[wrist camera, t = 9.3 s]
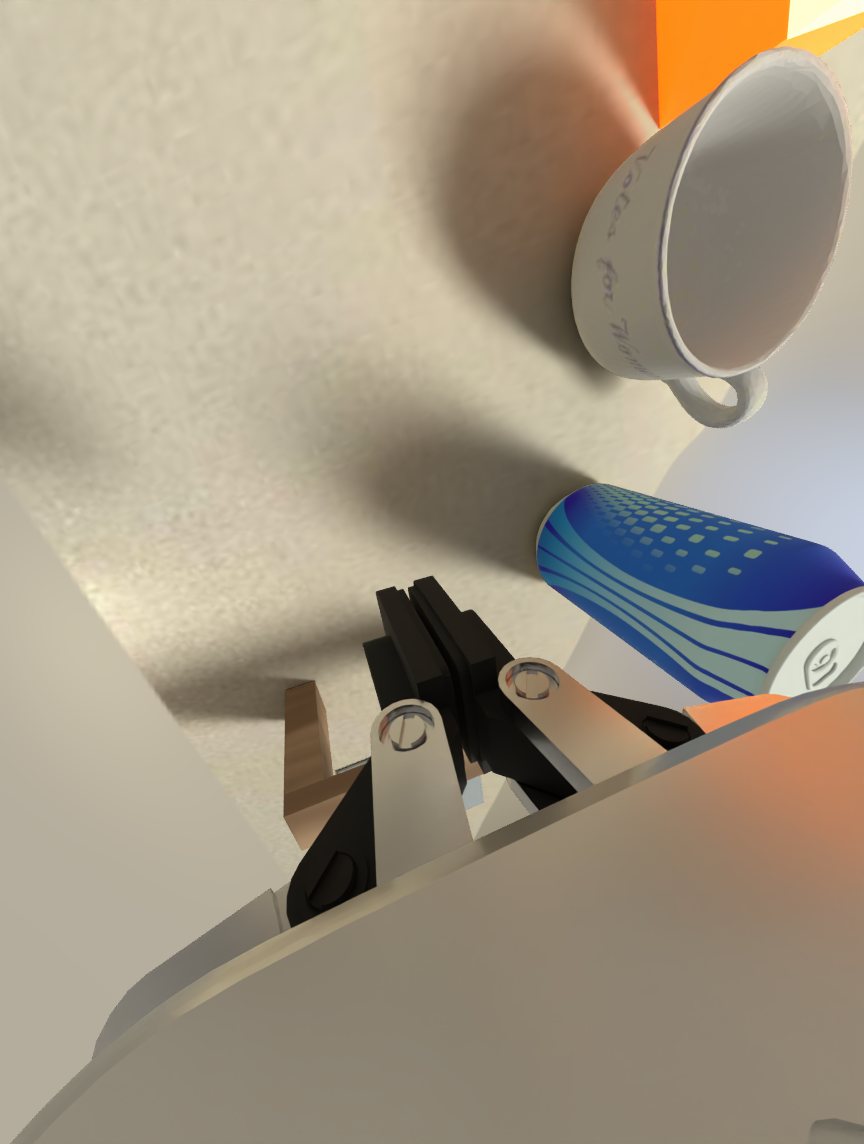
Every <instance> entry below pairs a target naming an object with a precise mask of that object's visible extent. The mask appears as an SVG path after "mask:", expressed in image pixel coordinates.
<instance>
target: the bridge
mask: <svg viewBox="0 0 864 1144" xmlns="http://www.w3.org/2000/svg"><path fill="white" fill-rule="evenodd" d="M463 754H464V761H465V772H466V779H467V781H468V780H470V779H472V778H475V777H477V776H480V775H482V774H484V773H483V771H482V769H481V768H480V766H479V764H478V762H474V763H472V764H471V763H470V762H469V760H468V758H467V756H466V754H465V752H464V750H463ZM365 764H366V763H365ZM365 764H362V765H360V766H357V767H355V768H352V769H350V770H347V771H344V772H342V773H339V774H337V775H334V776H333V769H332V760H331V751H330V743H329V734H328V725H327V716H326V710H325V707H324V705H323V702H322V699H321V697H320V694H319V691H318V688H317V686H316V683H315V681H313V682H310V683H306V684H303V685H300V686H297V687H294V688H291V689H288V690H286V691H285V756H284V819H285V821H286V823H287V825H288V826H289V828H290V830H291V832H292V834H293V836H294V837H295V839H296V841H297V843H298V845H299V847H300V848H301V850H305V849H307V848H309V847H311V845H312V844H313V842H314V841H315V839H316V838H317V836H318V835H319V833H320V832H321V830H322V829H323V827H324V826H325V824H326V823H327V821H328V820H329V818H330V817H331V815H332V814H333V812H334V811H335V809H336V808H337V806H338V805H339V803H340V802H341V800H342V799H343V797H344V796H345V794H346V793H347V791H348V790H349V788H350V787H351V785H352V784H353V782H354V781H355V779H356V778H357V776H358V775H359V773H360V772H361V770H362V769H363V767H364V766H365Z"/></svg>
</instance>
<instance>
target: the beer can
mask: <svg viewBox="0 0 864 1144" xmlns="http://www.w3.org/2000/svg"><path fill="white" fill-rule="evenodd" d="M536 557H537V565H538V569H539V572H540V574H541V576H542V578H543V579H544V580H545V582H546V583H547V584H548V585H549V586H551V587H552V588H553V589H555V590H556V591H557V592H559V593H560V594H561V595H563V596H564V597H565V598H567V599H568V600H569V601H571V602H572V603H573V604H575V605H576V606H578V607H579V608H580V609H582V610H583V611H584V612H586V613H587V614H588V615H590V616H591V617H592V618H594V619H595V620H596V621H598V622H599V623H601V624H602V625H603V626H605V627H606V628H607V629H609V630H610V631H611V632H613V633H614V634H615V635H617V636H618V637H619V638H621V639H622V640H624V641H625V642H626V643H628V644H629V645H630V646H632V647H633V648H634V649H636V650H637V651H638V652H640V653H641V654H642V655H644V656H645V657H646V658H648V659H649V660H651V661H652V662H653V663H655V664H656V665H657V666H659V667H660V668H662V669H663V670H664V671H665V672H667V673H668V674H669V675H671V676H672V677H674V678H675V679H676V680H678V681H679V682H681V683H682V684H683V685H684V686H686V687H687V688H688V689H690V690H691V691H692V692H694V693H695V694H697V695H698V696H699V697H701V698H702V699H704V700H706V701H708V702H709V703H714V702H720V701H726V700H732V699H738V698H744V697H750V696H756V695H762V694H778V695H783V696H787V697H791V698H792V697H795V696H798V695H800V694H803V693H806V692H810V691H814V690H818V689H822V688H826V687H831V686H836V685H843V684H850V682H851V681H852V680H853V679H854V678H855V677H856V676H857V675H858V674H859V673H860V671H861V670H862V669H863V668H864V582H863V581H862V580H861V579H860V578H859V577H858V576H857V575H856V574H855V573H854V571H853V570H851V568H850V567H849V566H848V565H847V564H846V563H845V562H844V561H843V560H842V559H841V558H840V557H839V556H838V555H837V554H836V553H835V552H834V551H832V550H831V549H829V548H827V547H825V546H823V545H820V544H817V543H814V542H810V541H807V540H803V539H800V538H796V537H793V536H789V535H785V534H782V533H778V532H775V531H771V530H768V529H764V528H761V527H757V526H754V525H750V524H747V523H743V522H739V521H736V520H732V519H729V518H725V517H722V516H718V515H715V514H711V513H708V512H704V511H701V510H697V509H694V508H690V507H687V506H683V505H680V504H676V503H673V502H669V501H665V500H662V499H658V498H655V497H652V496H648V495H645V494H641V493H637V492H634V491H630V490H627V489H623V488H620V487H616V486H613V485H609V484H592V485H588V486H584V487H582V488H580V489H578V490H576V491H574V492H572V493H571V494H569V495H567V496H565V497H564V498H562V499H561V500H560V501H558V502H557V503H556V504H555V505H554V506H553V507H552V508H551V509H550V510H549V512H548V513H547V514H546V516H545V518H544V519H543V521H542V523H541V525H540V528H539V531H538V534H537V539H536Z"/></svg>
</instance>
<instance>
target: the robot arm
mask: <svg viewBox="0 0 864 1144" xmlns="http://www.w3.org/2000/svg"><path fill="white" fill-rule="evenodd" d="M408 592H409V598H410V600H409V598H408V596H407V595H406V593H405V591H404V590H403V589H401V590H398V591H397V590H396V588H395V586H394V587H390V588H386V589H383V590H379V591H376V596H377V600H378V605H379V609H380V613H381V617H382V621H383V625H384V630H385V634H386V636H384V637H381V638H378V639H374V640H371V641H368V642H365V643H363V647H364V651H365V654H366V658H367V661H368V665H369V669H370V672H371V676H372V679H373V683H374V686H375V690H376V693H377V697H378V700H379V704H380V707H381V711H382V712H381V713H380V714H379V715H378V716H377V717H376V719H375V721H374V723H373V725H372V728H371V735H370V737H371V757H370V758H369V760H368V761H367V763H366V764H365V766H364V767H363V769H362V770H361V772H360V773H359V775H358V776H357V778H356V779H355V781H354V782H353V784H352V785H351V787H350V788H349V790H348V791H347V793H346V794H345V796H344V797H343V799H342V800H341V802H340V803H339V805H338V806H337V808H336V809H335V811H334V812H333V814H332V815H331V817H330V818H329V820H328V821H327V823H326V824H325V826H324V827H323V829H322V830H321V832H320V833H319V835H318V836H317V838H316V839H315V841H314V842H313V844H312V845H311V847H310V848H309V850H308V851H307V853H306V854H305V856H304V857H303V859H302V860H301V862H300V863H299V865H298V867H297V869H296V871H295V873H294V875H293V877H292V879H291V881H290V882H289V883H287V884H286V885H284V886H283V887H282V888H280V889H279V890H278V891H276V892H275V893H273V891H272V890H271V888H270V889H268V890H267V891H265V892H264V893H263V894H261V895H260V896H258V897H257V898H255V899H254V900H253V901H251V902H250V903H248V904H247V905H245V906H244V907H242V908H241V909H240V910H238V911H237V912H235V913H234V914H232V915H231V916H230V917H228V918H227V919H225V920H224V921H222V922H221V923H220V924H218V925H217V926H215V927H214V928H212V929H211V930H209V931H208V932H207V933H205V934H204V935H202V936H201V937H199V938H198V939H197V940H195V941H194V942H192V943H191V944H190V945H188V946H187V947H185V948H184V949H182V950H181V951H179V952H178V953H176V954H175V955H174V956H172V957H171V958H169V959H168V960H166V961H165V962H164V963H162V964H161V965H159V966H158V967H156V968H155V969H154V970H152V971H151V972H149V973H148V974H147V975H145V976H144V977H143V978H142V979H141V980H140V981H139V982H138V983H136V984H135V985H134V986H133V987H132V988H131V989H130V990H129V991H128V992H127V993H126V994H125V996H124V997H123V998H122V1000H121V1001H120V1002H119V1003H118V1005H117V1006H116V1007H115V1009H114V1010H113V1011H112V1013H111V1014H110V1016H109V1018H108V1020H107V1022H106V1024H105V1026H104V1028H103V1030H102V1032H101V1034H100V1036H99V1037H98V1039H97V1042H96V1045H95V1049H94V1053H93V1057H92V1060H91V1061H90V1062H89V1063H88V1064H87V1065H86V1066H85V1067H84V1068H83V1069H82V1070H81V1071H80V1072H79V1073H78V1074H77V1075H76V1076H75V1077H74V1078H73V1079H72V1080H71V1081H70V1082H69V1083H68V1084H67V1085H66V1086H64V1087H63V1089H61V1090H60V1091H59V1092H58V1093H57V1094H56V1095H55V1096H54V1097H53V1098H52V1099H51V1100H50V1101H49V1102H48V1103H47V1104H46V1105H45V1107H44V1108H42V1110H41V1111H40V1112H39V1113H38V1114H37V1115H36V1116H35V1117H34V1118H33V1119H32V1120H31V1121H30V1122H29V1123H28V1125H27V1126H26V1127H25V1128H24V1129H23V1130H22V1131H21V1133H19V1134H18V1136H17V1137H16V1138H15V1139H14V1140H13V1141H12V1143H10V1144H864V682H857V683H850V684H843V685H836V686H831V687H826V688H822V689H818V690H814V691H810V692H806V693H803V694H800V695H798V696H795V697H792V698H791V697H787V696H783V695H778V694H762V695H756V696H750V697H744V698H738V699H732V700H726V701H720V702H714V703H708V704H702V705H696V706H690V707H684V708H683V712H682V713H679V712H678V711H675V710H672V709H669V708H666V707H661V706H657V705H653V704H648V703H644V702H639V701H634V700H630V699H625V698H620V697H616V696H612V695H607V694H603V693H598V692H594V691H589V690H588V689H587V688H585V687H584V686H583V685H581V684H580V683H579V682H578V681H576V680H575V679H574V678H572V677H571V676H570V675H568V674H567V673H566V672H564V671H563V670H562V669H561V668H559V667H558V666H557V665H555V664H553V663H551V662H550V661H547V660H544V659H541V658H532V657H527V658H519V659H516V660H515V659H514V657H513V656H512V655H511V654H510V653H509V652H508V650H507V649H506V648H505V647H504V646H503V644H502V643H501V642H500V641H499V640H498V639H497V637H496V636H495V635H494V634H493V633H492V631H491V630H490V629H489V628H488V627H487V626H486V624H485V623H484V622H483V621H482V620H481V618H480V617H479V616H478V615H477V614H476V613H475V612H474V611H473V610H467V611H464V612H461V611H460V610H459V609H458V608H457V606H456V605H455V604H454V602H453V601H452V600H451V599H450V597H449V596H448V595H447V593H446V592H445V591H444V590H443V588H442V587H441V586H440V585H439V583H438V582H437V581H436V579H435V578H434V577H433V576H429V577H425V578H422V579H418V580H415V581H414V586H412V587H408ZM463 750H464V752H465V754H466V756H467V758H468V760H469V762H470V763H471V764H472V763H474V762H478V764H479V766H480V768H481V769H482V771H483V773H484V774H486V773H488V772H490V771H492V772H493V773H496V774H499V775H502V776H505V777H506V780H507V783H508V785H509V787H510V788H511V790H512V791H513V793H514V794H515V795H516V797H517V798H518V799H519V801H520V802H521V803H522V804H523V806H524V807H525V808H526V810H527V811H528V812H529V814H530V815H529V816H526V817H524V818H522V819H520V820H518V821H516V822H514V823H512V824H509V825H507V826H505V827H503V828H501V829H499V830H497V831H494V832H492V833H490V834H488V835H486V836H484V837H481V838H479V839H477V840H475V841H473V838H472V834H471V830H470V826H469V822H468V819H467V815H466V811H465V807H464V803H463V799H462V795H463V792H464V790H465V788H466V785H467V779H466V772H465V761H464V754H463Z"/></svg>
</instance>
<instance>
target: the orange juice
mask: <svg viewBox="0 0 864 1144" xmlns="http://www.w3.org/2000/svg"><path fill="white" fill-rule="evenodd" d="M656 19H657V54H658V88H659V123H660V129H662V128H664V127H665V126H666V125H667V124H669V123H670V122H671V121H673V120H674V119H675V118H677V117H678V116H679V115H680V114H682V113H683V112H685V111H686V110H687V109H689V108H690V107H691V106H693V105H694V104H695V103H697V102H698V101H700V100H701V99H702V98H704V97H705V96H706V95H708V94H709V93H710V92H712V91H713V90H715V89H716V88H717V87H718V86H719V84H720V83H721V82H722V81H723V80H724V79H725V78H726V77H727V76H728V75H729V74H730V73H731V72H732V71H734V70H735V69H736V68H737V67H739V66H740V65H741V64H743V63H744V62H746V61H747V60H748V59H750V58H751V57H753V56H754V55H756V54H758V53H760V52H762V51H765V50H768V49H772V48H777V47H783V46H790V47H795V48H800V49H805V50H808V51H810V52H812V53H813V54H815V55H816V56H820V55H822V54H823V53H825V52H826V51H828V50H829V49H831V48H833V47H834V46H836V45H837V44H839V43H840V42H842V41H844V40H845V39H847V38H848V37H850V36H851V35H853V34H854V33H856V32H858V31H859V30H861V29H862V28H864V0H656Z"/></svg>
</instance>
